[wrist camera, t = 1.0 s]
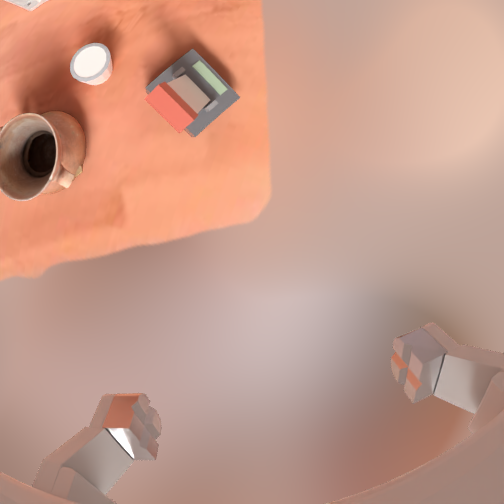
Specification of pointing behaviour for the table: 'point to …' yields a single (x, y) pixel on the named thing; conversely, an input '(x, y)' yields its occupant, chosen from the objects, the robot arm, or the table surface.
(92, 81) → the shot glass
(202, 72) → the switch box
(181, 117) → the lever
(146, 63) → the table surface
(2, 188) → the ceramic jug
